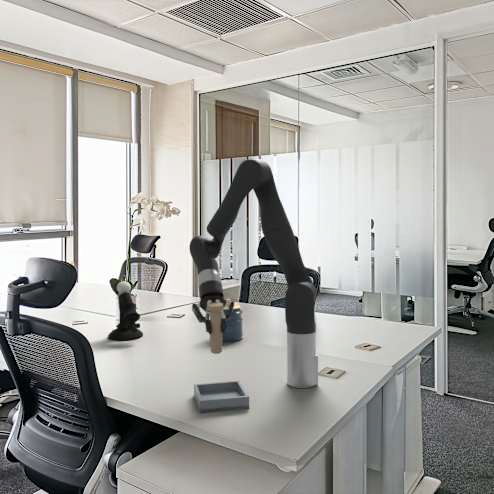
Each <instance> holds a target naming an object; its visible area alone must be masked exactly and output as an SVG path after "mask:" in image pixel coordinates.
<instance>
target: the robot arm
mask: <svg viewBox="0 0 494 494" xmlns="http://www.w3.org/2000/svg"><path fill="white" fill-rule="evenodd" d="M252 190H253V192H254V194H255V196H256V199H257V202H258V205H259V211H260V212H259V213H260V226H261V231H262V235H263V236H264V239H265V243H266V245H267V248H268V249H269V251H270V253H271V254H272V257H273V258H274V259H275V261H276V263H278V265H279V267H280V268H281V270H282V272H283V275H284V278H285V281H286V285H287V289H286V291H285V293H284V294H285V295H284V316H285V317H284V319H285V323H286V372H287V373H286V375H287V376H286V384H287V385H288V386H290V387H292V388H296V389H298V388H299V389H308V388H313V387H315V386H319V356H318V354H317V351H316V349H317V338H316V337H317V333H316V332H317V330H316V329H317V324H316V321H315V320H316V318H315V303H316V301H317V296H318V293H317V289H316V286H315V285H314V282H313V281H312V279H311V277H310V274H309V273H308V270H307V269H306V265H305V264H304V261H303V258H302V254H301V252H300V247H299V245H298V243H297V239H296V236H295V233H294V230H293V229H292V226H291V223H290V221H289V218H288V216H287V213H286V211H285V208H284V206H283V204H282V201H281V198H280V196H279V193H278V189H277V186H276V182H275V177H274V175H273V171H272V168H271V166H270V165H269V163H268V162H267V161H266V160H265V159H264V160H263V159H262V158H247V159H245V160H243V161H242V162H241V163H240V164H239V166H238V167H237V169H236V171H235V174H234V176H233V178H232V181H231V184H230V185H229V188H228V189H227V192H226V194H225V196H224V198H223V200H222V202H220V203H221V204H220V205H219V207H218V208H217V209H216V212H215V213H214V215H213V216H212V218H211V219H210V221H209V222H208V224H207V226H206V232H207V233H208V234H209V235H210V236H211V237H213V238H212V239H210V238H208V237H206V236H202V235H195V236H194V237H193V238H192V239H191V240H190V242H189V254H190V255H191V257H192V258H191V259H192V260H193V262H194V264H195V266H196V268H197V270H196V271H197V277H198V278H197V284H198V294H199V302H197V303H192V305H191V311H192V312H193V314H194V316H195V317H196V319H197V321H198V322H199V323H201V324H202V323H204V325H205V332H206V333H208V334H209V335H210V334H211V323H210V311H208V310H207V304H209V303H223V308H224V307H225V305H226V306H227V309H228V314H227V315H225V314H224V311H223V310H221V324H222V333H225V331H226V329H227V325H226V321H230V319H231V315H232V312H233V308H234V303H235V301H231V302H227V301H226V299H225V295H224V289H223V284H222V277H221V276H220V269H219V263H218V261H217V258H218V257H219V255H220V253H221V250H222V247H223V244H224V241H225V238H226V236H227V234H228V233H229V231H230V229H231V228H232V226H233V224H234V223H235V221H236V220H237V218H238V215H239V212H240V208H241V206H242V204H243V202H244V200H245V198H246V197H247V196H248V195H249V193H250V192H251V191H252ZM200 309H202V310H203V311H204V312H205V316H204V315H203V314H202V312H201V310H200Z"/></svg>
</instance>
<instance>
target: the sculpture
mask: <svg viewBox="0 0 494 494" xmlns="http://www.w3.org/2000/svg"><path fill="white" fill-rule="evenodd" d="M131 289H132V285H131V284H130V283H129V282H128V281H126V280H125V281H124V280H123V281H120V282H118V284H117V285H116V291H117V292H118V293H117V294H118V295H117V303H118V310H119V323H118V324H117V325H116V326H115V327H116V328H115V329H113V330H112V331H110V333H108V336H107V338H108V340H110V341H115V342H125V341H135V340H137V339H141V338H143V336H144V332H142V331H141V330H140V329H139V328H140V327H141V323H139V322H138V321H139V320H140V318H141V315H140V313H139V312H137V304H136V303H134V302H133V299H132V292H131ZM136 322H138V323H136Z"/></svg>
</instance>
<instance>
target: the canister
mask: <svg viewBox="0 0 494 494" xmlns="http://www.w3.org/2000/svg"><path fill="white" fill-rule="evenodd" d="M225 300H226V301H227V302H231V299H230V298H226V299H225ZM241 308H242V306H241V305H240V304H238V303H237V302H234V308H233V312H232V315H231V319H230V321H226V325H227V329H226V331H225V333H222V342H226V343H227V342H236V341H237V342H238V341H241V340H242V339H243V336H244V332H243V331H244V330H243V326H244V325H243V320H244V319H243V317H242V314H243V313H244V311H243V310H242V309H241ZM223 311H224V314H225V315H227V314H228V309H227V306H226V305H225V307H224V308H223Z"/></svg>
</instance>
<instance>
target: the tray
mask: <svg viewBox="0 0 494 494" xmlns="http://www.w3.org/2000/svg"><path fill="white" fill-rule="evenodd" d="M193 397H194V400H195V403H196V405H197V408H198V412H199V414H208V413H217V412H218V413H221V412H228V411H238V410H239V411H240V410H249V409H250V396H249V394H248V392H247V391H246V389H245V388H244V386H243V384H242V382H241V381H240V380H231V381H219V382H218V381H217V382H209V383H208V382H207V383H195V384H193Z"/></svg>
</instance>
